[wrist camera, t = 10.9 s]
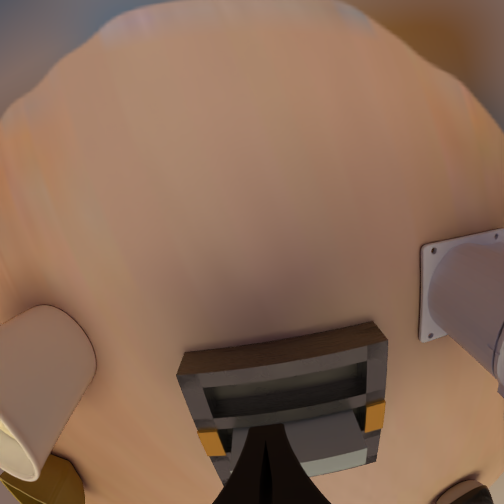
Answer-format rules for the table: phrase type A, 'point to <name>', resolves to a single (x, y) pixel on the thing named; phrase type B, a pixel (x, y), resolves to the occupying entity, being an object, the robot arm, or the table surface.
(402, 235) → the table surface
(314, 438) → the panel
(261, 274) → the table surface
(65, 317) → the candle holder
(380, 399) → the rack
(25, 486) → the flower pot
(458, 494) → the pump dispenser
